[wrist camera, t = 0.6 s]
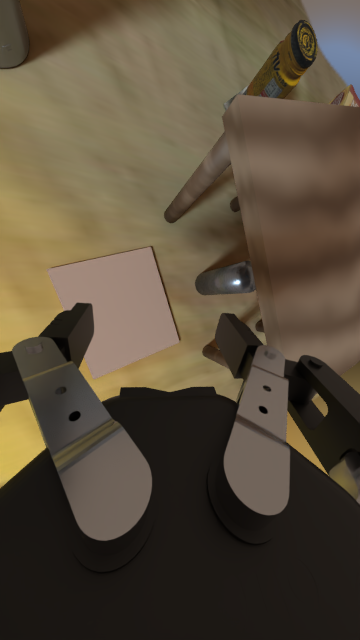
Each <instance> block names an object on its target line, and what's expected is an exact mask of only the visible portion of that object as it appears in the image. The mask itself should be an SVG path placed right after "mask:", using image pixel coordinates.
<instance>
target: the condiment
mask: <svg viewBox="0 0 360 640" xmlns="http://www.w3.org/2000/svg"><path fill="white" fill-rule="evenodd" d="M316 55H317V39H316V35H315V33H314V30H313V28H312V26H311V25H310V24H309V23H308V22H307V21H305V20H300V21H299V22H298V23H296V24H295V25H294V27H293V29H292V31H291V32H290V33H289V34H288V35H287V36H286V38H285V40H283V41H281V42H280V43H279V44H278V45H277V46H276V48H275V49H274V51H273V52H272V54H271V55H270V56H269V58H268V59H267V60H266V62H265V64H264V65H263V66H262V68H261V69H260V71H259V72H258V73H257V75H256V76H255V78H254V79H253V80H252V82H251V83H250V85H248V86H247V87H246V88H244V89H243V90H242V91H241V92H239V93H238V94H240V95H249V96H259V97H268V98H278V99H284V98H285V97H286V95H288V93H289V92H290V91H291V90H292V89H293V88H294V87H295V86H296V85H297V83H298V82H299V80H300V77H301V76H302V75H303V74H304V73H305V72H306V70H307V69H308V67H310V66H311V65H312V63H313V62H314V60H315V58H316ZM236 95H237V94H236ZM236 95H235V96H234V97H233V98H231V99H230V100H229V101H227V102H226V103H225V104H224V105H225V108H226V110H227V109H228V107H229V106H230V104H231V103H232V101H233V100H234V98H235V97H236Z"/></svg>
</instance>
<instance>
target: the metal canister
mask: <svg viewBox="0 0 360 640" xmlns="http://www.w3.org/2000/svg"><path fill="white" fill-rule="evenodd" d="M195 286H196V289H197V291H198V292H199V293H200V294H202V295H218V294H234V293H250V292H253V291H254V290H255V289H256V286H255V281H254V276H253V271H252V266H251V261H244V262H240V263H237V264H233V265H230V266H226V267H222V268H219V269H215V270H212V271H208V272H204V273H201V274H200V275H198V277H197V278H196V281H195Z"/></svg>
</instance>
